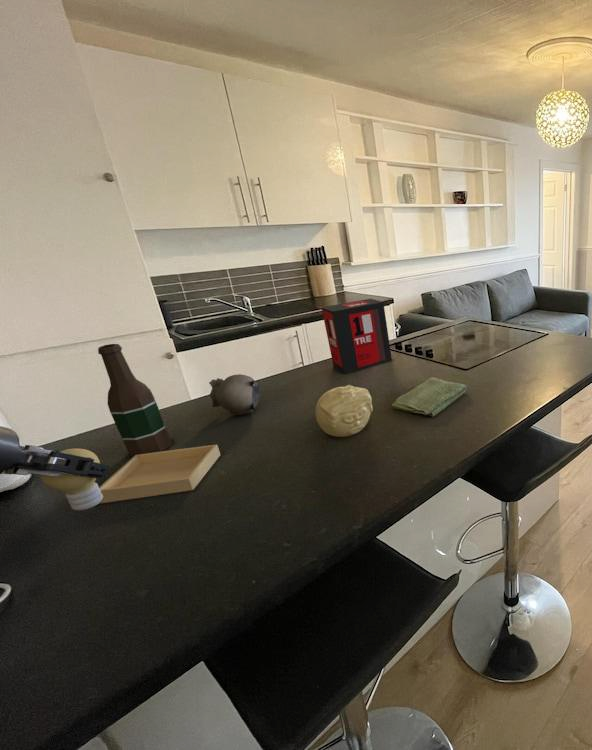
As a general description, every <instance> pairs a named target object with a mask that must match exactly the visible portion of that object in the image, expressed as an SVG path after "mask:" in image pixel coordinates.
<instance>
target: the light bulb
mask: <svg viewBox="0 0 592 750" xmlns="http://www.w3.org/2000/svg"><path fill="white" fill-rule="evenodd" d="M59 451H60V450H59ZM60 452H65V453H68V454H72V455H76V456H81V457H86V458H87V457H89V458H92V459H94V462H96V463H101V462H100V458H98V456H97V454H96V453H94V452H93V451H91V450H88V449H84V448H66V449H63V450H61V451H60ZM47 472H50V471H47ZM40 478H41V480H42V482H43V483H44V484H45V485H46V486H48V487H49V488H51V489H54V490H56V491H59V492H63V493H65V494H64V496H65V499H67V502H68V504H69V505H70V508H71V510H74V511H85V510H88V509H91V508H93V507H95V506H97V505H98V504H101V503H100V501H101V500H102V499H103V495H102V493H101V491H100V489H99V487H100V486H99V484H98V483H97V482H96V480H97V478H91V477H85V476H78V477H75V476H73V475H66V474H60V475H58V476H54V477H52V476H44V475H40Z"/></svg>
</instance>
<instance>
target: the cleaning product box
mask: <svg viewBox="0 0 592 750" xmlns="http://www.w3.org/2000/svg"><path fill="white" fill-rule="evenodd" d="M321 313H322V315H323V316H322V317H323V322H324V327H325V332H326V337H327V342H328V347H329V351H330V356H331V360H332V365H333V368H334V369H336V370H338V371H339V372H340V373H342V374H344V375H347V374H350V373H353V372H356V371H357V372H358V371H360V370H363V369H367V368H371V367H374V366H378V365H381V364H384V363H388V362H391V361H393V359H392V352H391V344H390V337H389V332H388V331H389V330H388V324H387V318H386V311H385V304H384V301H381V300H378V299H375V298H366V299H360V300H356V301H355V300H354V301H349V302H344V303H338V304H332V305H327V306H321Z"/></svg>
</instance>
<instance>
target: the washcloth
mask: <svg viewBox="0 0 592 750" xmlns="http://www.w3.org/2000/svg"><path fill="white" fill-rule="evenodd" d="M467 389H468V387H467V385H466V384H463V383H458V382H453V381H446V380H443V379H441V378H437V377H430V378H428V379H427V380H426V381H424V382H423V383H420V384H418V385H417V386H415V387H414V388H412V389H411V390H409V391H408V392H406V393H404V394H402V395H399V396H398V397H397V398H396V399H395V400H394V401H393V402H392V404H391V407H394V409H396V410H401V411H404V412H410V413H414V414H421V415H424V416H430V417H435V416H437V415H439V413H440V412H442V411H444V410H445V408H447V407H448V406H450V405H451V404H452V403H453V402H455V401H456V400H458V399H459V398H460V397H462V395H464V394H465V393H466V391H467Z"/></svg>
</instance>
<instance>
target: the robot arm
mask: <svg viewBox="0 0 592 750" xmlns="http://www.w3.org/2000/svg"><path fill="white" fill-rule="evenodd" d="M110 468H111V467H110V465H109V464H106V463H101V462H100V463H96V462H94V459H92V458H89V457H87V458H86V457H81V456H76V455H72V454H68V453H65V452H60V450H51V449H46V448H43V447H42V446H38V445H37V446H36V445H31V444H25V445H24V446H23V445H21V444H20V437H19V435H18V434H17V432H16V431H15V430H14V429H12V428H10V427H6V426H1V425H0V475H16V476H17V475H20V476H28V475H36V476H41V475H44V476H52V477H54V476H58V475H60V474H66V475H73V476H75V477H78V476H85V477H91V478H96V479H98V480H100V479H101V480H103V479H106V477H107V475H108V473H109V470H110ZM47 471H50V472H47Z"/></svg>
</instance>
